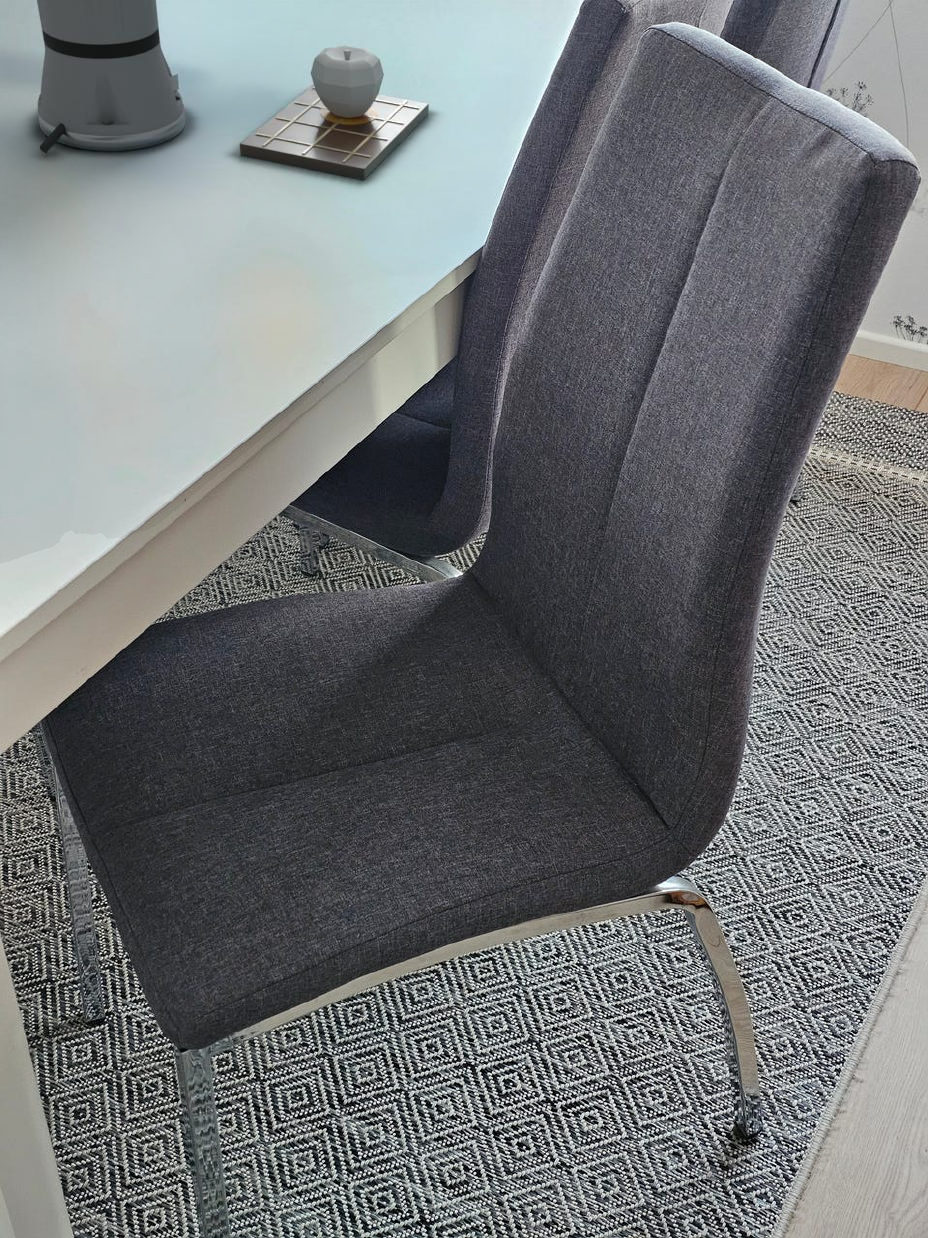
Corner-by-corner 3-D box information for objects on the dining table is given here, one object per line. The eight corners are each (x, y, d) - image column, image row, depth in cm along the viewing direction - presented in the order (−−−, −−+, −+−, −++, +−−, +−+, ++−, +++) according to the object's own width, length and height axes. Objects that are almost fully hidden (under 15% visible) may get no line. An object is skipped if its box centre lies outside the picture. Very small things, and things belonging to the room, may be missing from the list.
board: (364, 180, 123) (364, 167, 122) (240, 154, 126) (239, 142, 125) (428, 114, 137) (429, 102, 137) (315, 92, 140) (315, 80, 139)
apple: (397, 112, 134) (399, 50, 129) (351, 132, 129) (351, 68, 124) (343, 93, 137) (343, 32, 132) (296, 111, 132) (294, 48, 128)
